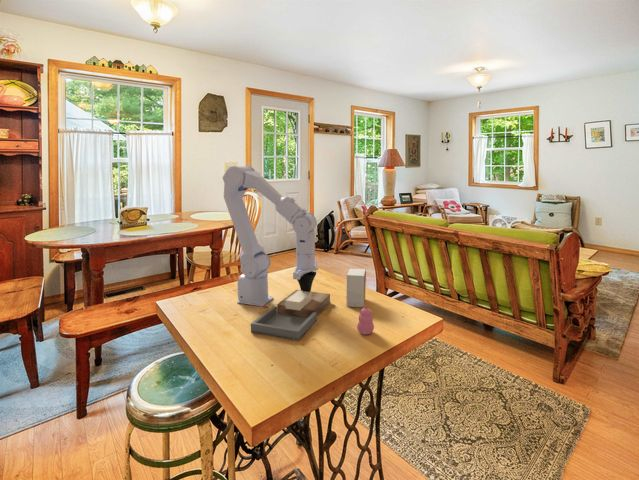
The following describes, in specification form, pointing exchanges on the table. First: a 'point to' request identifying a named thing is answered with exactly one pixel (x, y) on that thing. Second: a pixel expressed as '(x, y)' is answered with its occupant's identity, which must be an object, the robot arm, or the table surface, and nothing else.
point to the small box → (356, 287)
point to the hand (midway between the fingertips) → (306, 294)
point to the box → (283, 324)
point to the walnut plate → (314, 305)
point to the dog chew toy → (365, 322)
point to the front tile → (295, 302)
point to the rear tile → (304, 295)
